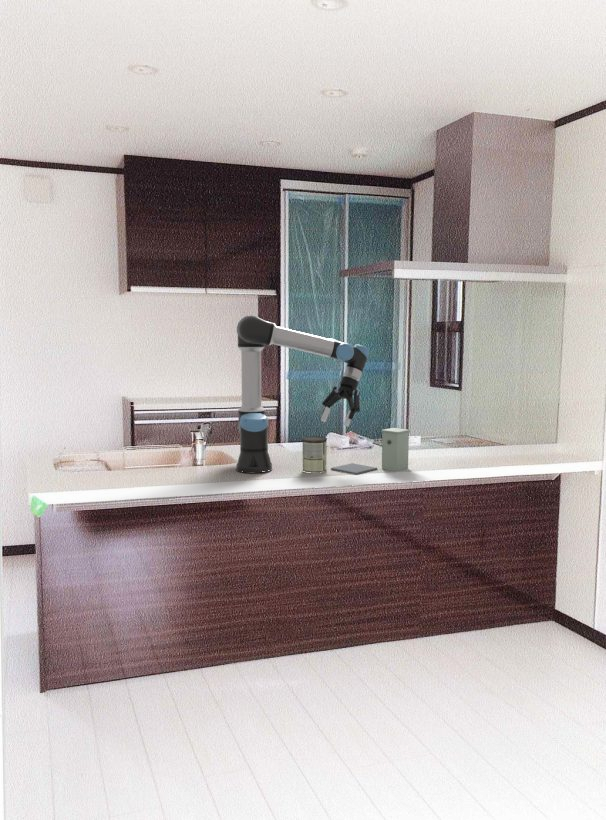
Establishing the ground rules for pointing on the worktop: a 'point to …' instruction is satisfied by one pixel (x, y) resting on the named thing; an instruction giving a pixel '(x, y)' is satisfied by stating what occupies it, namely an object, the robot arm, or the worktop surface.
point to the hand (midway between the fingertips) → (334, 423)
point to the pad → (354, 468)
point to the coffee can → (314, 454)
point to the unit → (395, 449)
